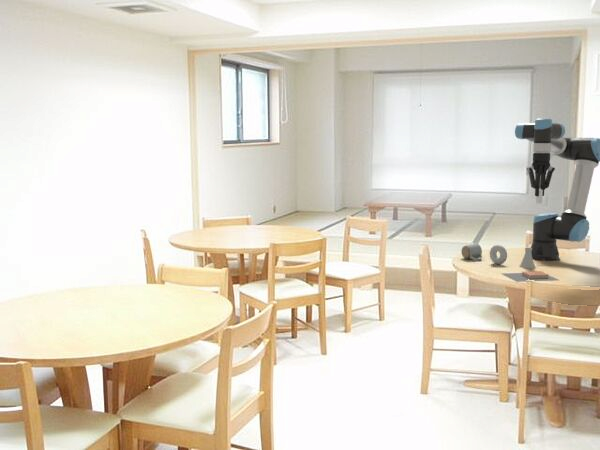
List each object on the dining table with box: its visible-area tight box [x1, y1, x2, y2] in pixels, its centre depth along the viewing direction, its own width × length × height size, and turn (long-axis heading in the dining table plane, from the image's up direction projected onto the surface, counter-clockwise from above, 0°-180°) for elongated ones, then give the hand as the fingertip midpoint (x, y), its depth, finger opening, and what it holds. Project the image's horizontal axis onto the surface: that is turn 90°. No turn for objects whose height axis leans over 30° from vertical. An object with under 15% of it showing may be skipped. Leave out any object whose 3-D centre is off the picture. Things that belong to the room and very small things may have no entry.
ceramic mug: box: [461, 242, 483, 262], centre depth 333 cm, size 11×8×8 cm
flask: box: [518, 247, 537, 269], centre depth 310 cm, size 7×7×10 cm
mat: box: [501, 272, 559, 283], centre depth 289 cm, size 20×16×1 cm
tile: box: [521, 270, 550, 279], centre depth 290 cm, size 2×7×9 cm
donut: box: [489, 244, 508, 265], centre depth 319 cm, size 10×4×10 cm, turn 32°
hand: (539, 203), depth 300 cm, fingers closed
